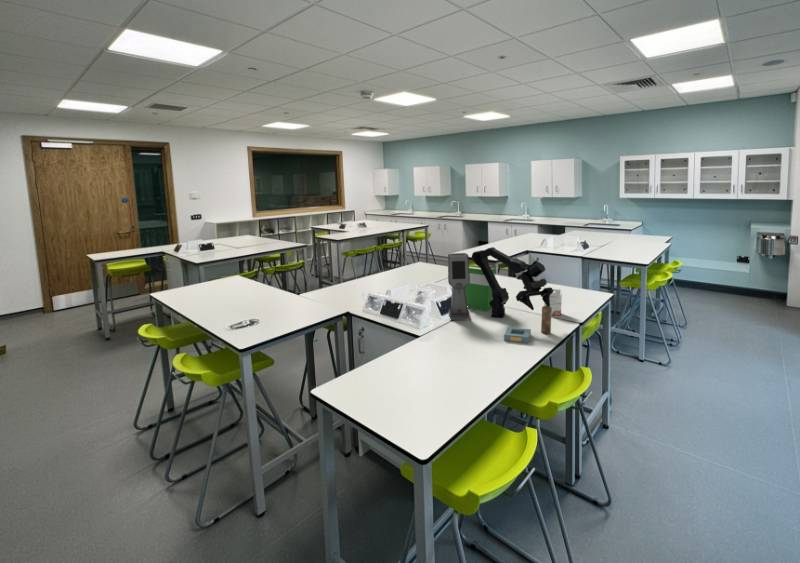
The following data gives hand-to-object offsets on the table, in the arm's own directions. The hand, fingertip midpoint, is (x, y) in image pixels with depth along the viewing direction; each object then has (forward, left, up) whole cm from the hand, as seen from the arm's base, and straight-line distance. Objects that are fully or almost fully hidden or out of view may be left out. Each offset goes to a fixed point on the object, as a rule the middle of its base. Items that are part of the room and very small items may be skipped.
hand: (541, 308), depth 213 cm
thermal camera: (-44, +9, -11) cm, 46 cm away
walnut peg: (+3, -4, -11) cm, 12 cm away
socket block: (-9, -15, -11) cm, 20 cm away
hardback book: (-38, +30, -11) cm, 50 cm away
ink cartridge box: (+4, +28, -11) cm, 31 cm away
